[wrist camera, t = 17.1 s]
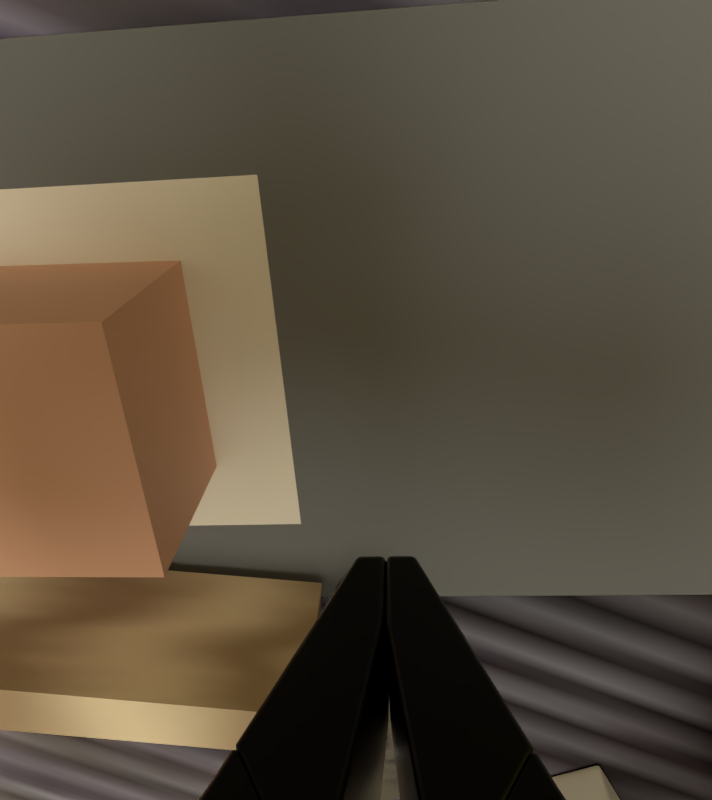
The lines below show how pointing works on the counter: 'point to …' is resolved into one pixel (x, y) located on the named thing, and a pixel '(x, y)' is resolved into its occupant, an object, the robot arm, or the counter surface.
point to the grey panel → (410, 276)
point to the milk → (585, 785)
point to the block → (98, 419)
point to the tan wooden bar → (147, 654)
